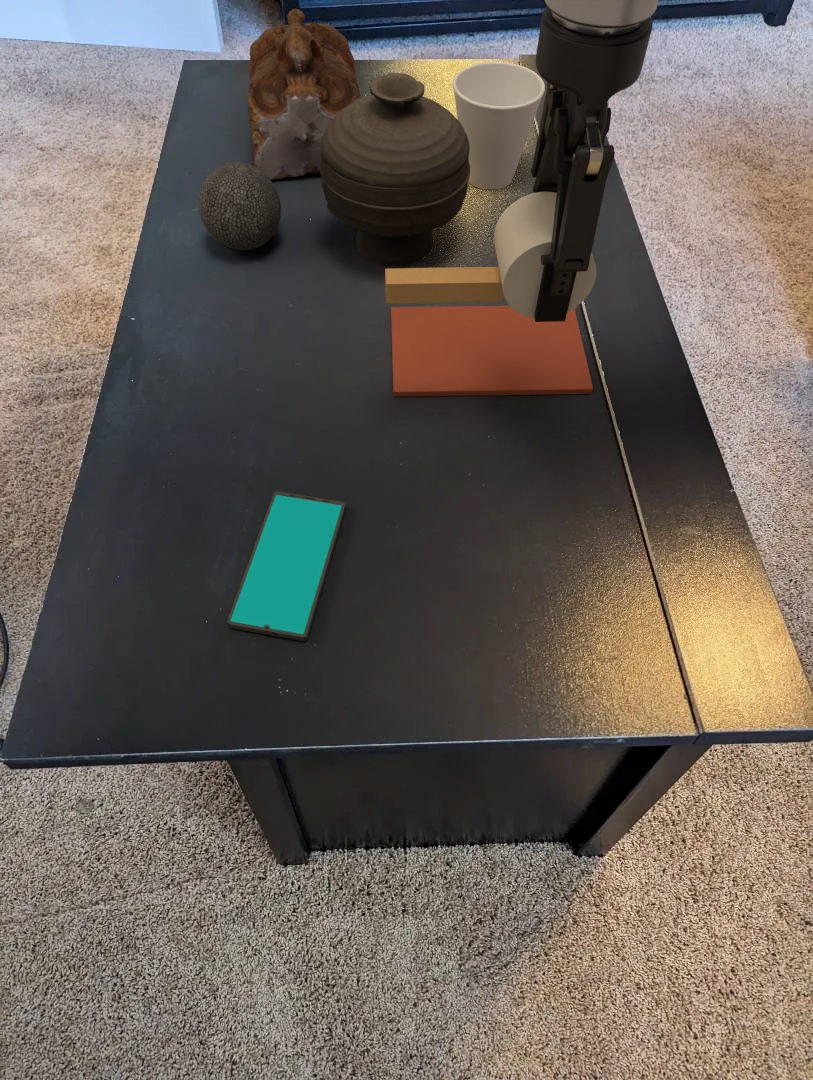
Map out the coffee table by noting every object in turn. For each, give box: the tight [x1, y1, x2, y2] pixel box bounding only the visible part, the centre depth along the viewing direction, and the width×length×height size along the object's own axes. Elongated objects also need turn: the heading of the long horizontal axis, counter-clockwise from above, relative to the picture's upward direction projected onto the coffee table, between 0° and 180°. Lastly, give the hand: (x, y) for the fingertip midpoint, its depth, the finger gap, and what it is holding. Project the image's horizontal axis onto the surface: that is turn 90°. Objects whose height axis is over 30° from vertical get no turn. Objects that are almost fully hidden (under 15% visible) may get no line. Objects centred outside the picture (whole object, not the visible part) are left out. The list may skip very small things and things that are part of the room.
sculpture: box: [247, 8, 362, 181], centre depth 107 cm, size 19×18×20 cm
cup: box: [452, 61, 546, 191], centre depth 102 cm, size 12×12×12 cm
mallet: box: [384, 192, 597, 318], centre depth 67 cm, size 18×7×8 cm, turn 93°
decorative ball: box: [198, 161, 282, 251], centre depth 94 cm, size 10×10×10 cm
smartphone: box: [226, 490, 347, 642], centre depth 71 cm, size 7×1×15 cm
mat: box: [390, 305, 594, 398], centre depth 87 cm, size 22×14×1 cm, turn 92°
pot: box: [319, 72, 470, 267], centre depth 91 cm, size 18×18×20 cm
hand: (543, 290), depth 70 cm, fingers closed on mallet, 7 cm apart
